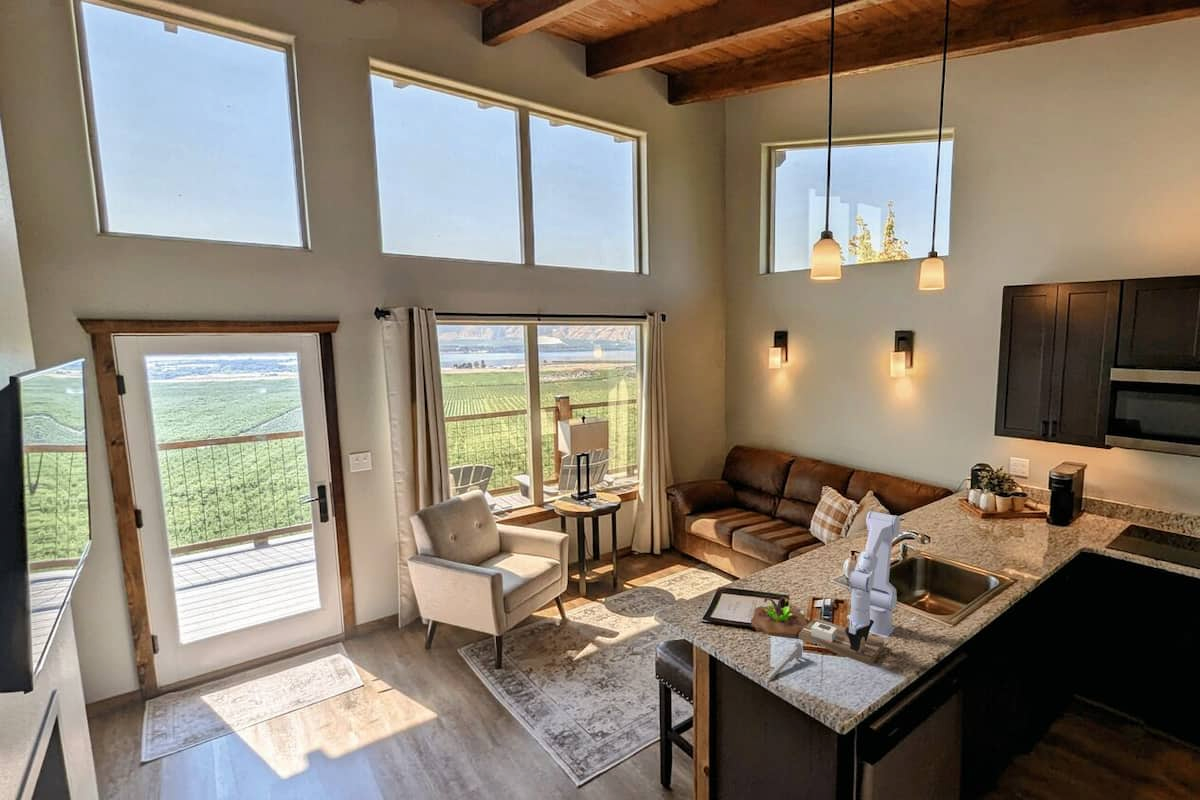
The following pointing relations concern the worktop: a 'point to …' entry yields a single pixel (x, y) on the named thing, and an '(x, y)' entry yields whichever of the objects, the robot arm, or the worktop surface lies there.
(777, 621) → the plant
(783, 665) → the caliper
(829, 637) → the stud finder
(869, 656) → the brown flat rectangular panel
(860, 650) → the peg
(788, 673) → the worktop surface
